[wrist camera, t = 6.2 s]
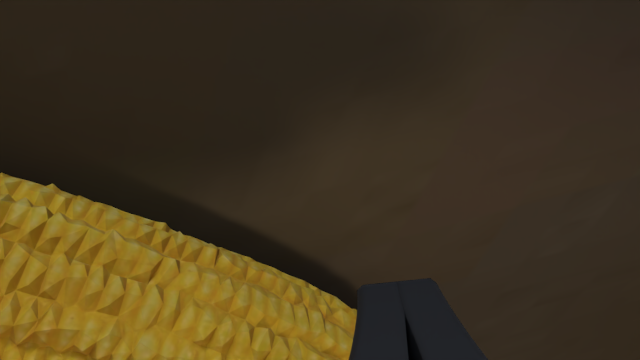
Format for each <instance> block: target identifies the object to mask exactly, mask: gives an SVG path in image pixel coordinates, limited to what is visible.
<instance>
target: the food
mask: <svg viewBox="0 0 640 360" xmlns="http://www.w3.org/2000/svg"><path fill="white" fill-rule="evenodd" d="M356 317H357V310H356V309H351V308H350V307H348V306H347V305H346V304H345V303H343V302H342V301H341V300H339V299H338V298H337V297H336V296H333V295H331V294H328V293H326V292H324V291H321V290H319V289H318V288H316V287H314V286H313V285H311V284H309V283H307V282H305V281H303V280H301V279H298V278H295V277H293V276H290V275H288V274H285V273H283V272H281V271H279V270H277V269H275V268H273V267H271V266H268V265H265V264H262V263H259V262H256V261H255V260H253V259H252V258H250V257H247V256H243V255H240V254H237V253H234V252H232V251H229V250H226V249H224V248H222V247H216V246H215V245H213V244H211V243H210V244H208V243H206V242H204V241H202V240H199V239H197V238H194V237H191V236H187V235H183V234H182V233H181V232H180V231H179V232H176V231H174V230H172V229H170V228H169V226H168V225H167V224H166V223H163V222H156V221H152V220H149V219H146V218H143V217H140V216H137V215H133V214H130V213H127V212H124V211H121V210H119V209H117V208H114V207H112V206H109V205H106V204H103V203H98V202H93V201H91V200H89V199H86V198H84V197H82V196H80V195H79V196H75V195H72V194H69V193H67V192H64V191H61V190H60V189H59V188H57V187H56V186H55V185H54V184H53V183H52V184H50V185H47V186H44V185H40V184H37V183H34V182H31V181H28V180H23V179H19V178H15V177H12V176H9V175H7V174H4V173H0V360H349V356H350V352H351V348H352V342H353V337H354V331H355V325H356Z"/></svg>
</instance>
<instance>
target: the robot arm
mask: <svg viewBox="0 0 640 360" xmlns="http://www.w3.org/2000/svg"><path fill="white" fill-rule="evenodd" d="M357 297H358V304H357V317H356V325H355V331H354V337H353V342H352V348H351V352H350V356H349V360H488V359H487V358H486V356H485V355H484V354H483V353H482V351H481V350H480V349H479V347H478V346H477V345H476V343H475V342H474V341H473V339H472V338H471V337H470V335H469V334H468V332H467V331H466V329H465V328H464V327H463V325H462V324H461V322H460V321H459V319H458V318H457V316H456V315H455V313H454V312H453V310H452V309H451V307H450V306H449V304H448V302H447V301H446V299H445V297H444V296H443V294H442V292H441V291H440V289H439V287H438V285H437V283H436V282H435V281H433V280H432V279H430V278H428V279H418V280H408V281H398V282H388V283H378V284H368V285H362V286H361V287H360V288H359V289H358V290H357Z"/></svg>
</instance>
